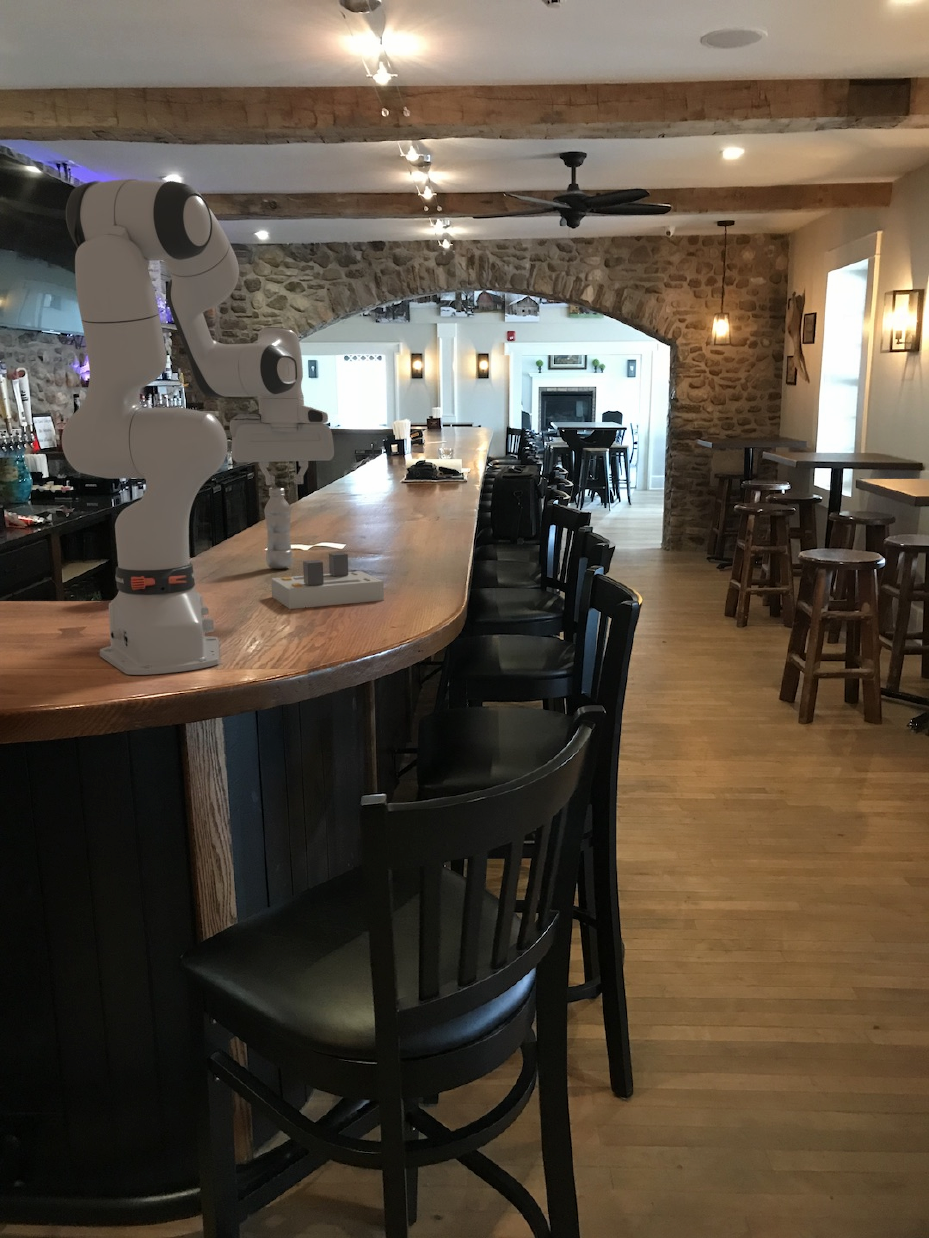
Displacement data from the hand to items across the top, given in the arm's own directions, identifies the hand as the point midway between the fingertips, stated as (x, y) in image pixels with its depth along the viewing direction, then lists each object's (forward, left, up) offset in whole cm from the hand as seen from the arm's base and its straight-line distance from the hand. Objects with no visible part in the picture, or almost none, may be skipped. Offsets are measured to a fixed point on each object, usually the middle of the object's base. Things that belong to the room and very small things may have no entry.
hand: (284, 484), depth 188 cm
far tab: (+4, -12, -20) cm, 24 cm away
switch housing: (0, -8, -24) cm, 25 cm away
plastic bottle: (+42, -9, -24) cm, 49 cm away
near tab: (-4, -4, -20) cm, 21 cm away
